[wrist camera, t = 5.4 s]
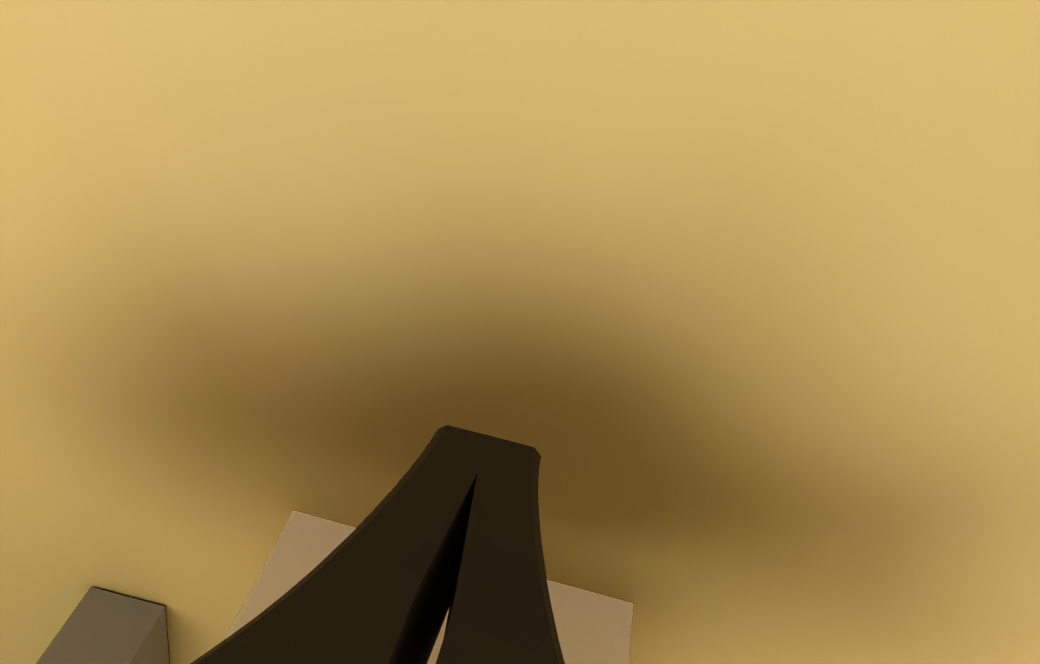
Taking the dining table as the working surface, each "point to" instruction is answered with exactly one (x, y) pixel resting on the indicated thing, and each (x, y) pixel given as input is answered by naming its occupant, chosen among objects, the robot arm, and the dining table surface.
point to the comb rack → (111, 632)
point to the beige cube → (577, 613)
